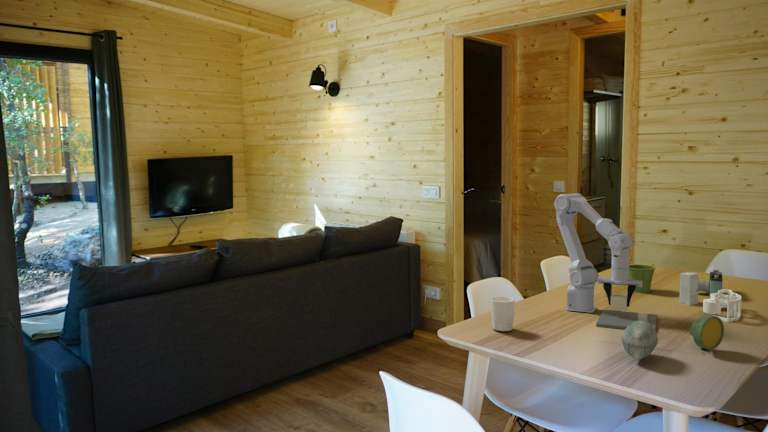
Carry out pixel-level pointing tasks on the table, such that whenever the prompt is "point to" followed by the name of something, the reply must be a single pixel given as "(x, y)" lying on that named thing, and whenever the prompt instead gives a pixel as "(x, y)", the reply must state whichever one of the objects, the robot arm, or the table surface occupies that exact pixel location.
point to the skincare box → (688, 288)
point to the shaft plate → (623, 319)
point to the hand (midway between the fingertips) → (619, 305)
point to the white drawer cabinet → (618, 301)
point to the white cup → (502, 313)
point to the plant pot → (642, 276)
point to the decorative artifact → (707, 331)
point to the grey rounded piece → (639, 339)
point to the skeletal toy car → (723, 304)
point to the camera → (711, 283)
